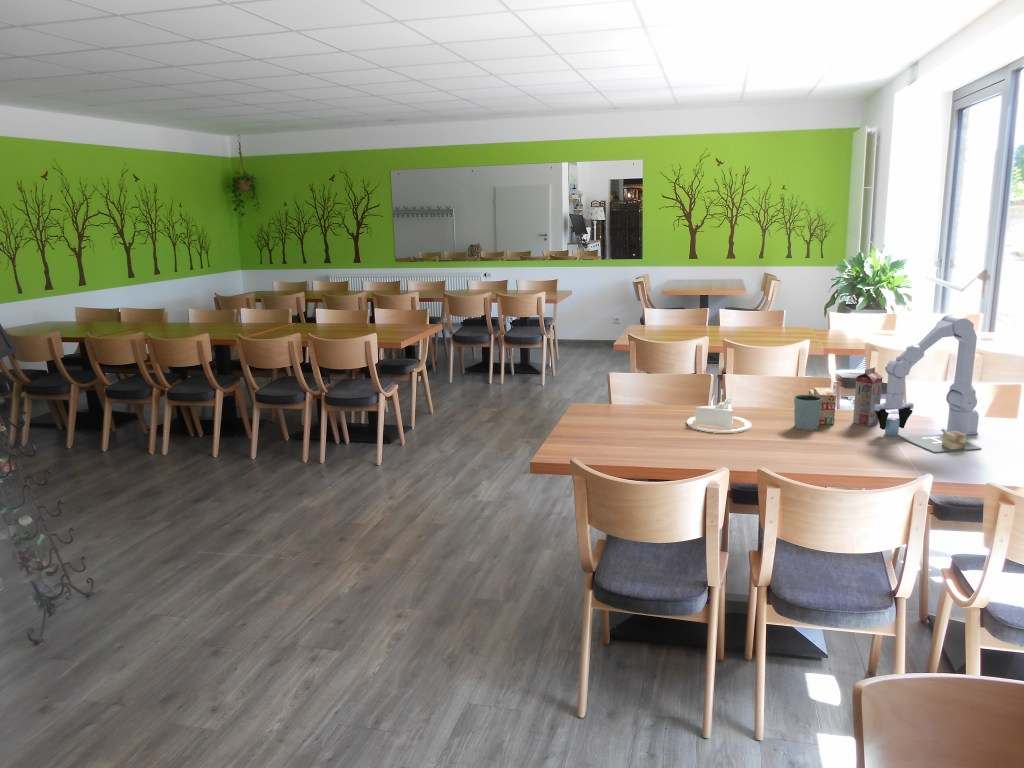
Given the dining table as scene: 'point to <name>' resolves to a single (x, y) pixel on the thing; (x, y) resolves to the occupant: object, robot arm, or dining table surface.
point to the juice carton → (867, 397)
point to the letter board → (935, 443)
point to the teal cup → (807, 411)
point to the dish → (717, 418)
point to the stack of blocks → (826, 404)
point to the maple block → (954, 440)
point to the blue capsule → (892, 426)
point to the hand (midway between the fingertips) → (891, 428)
